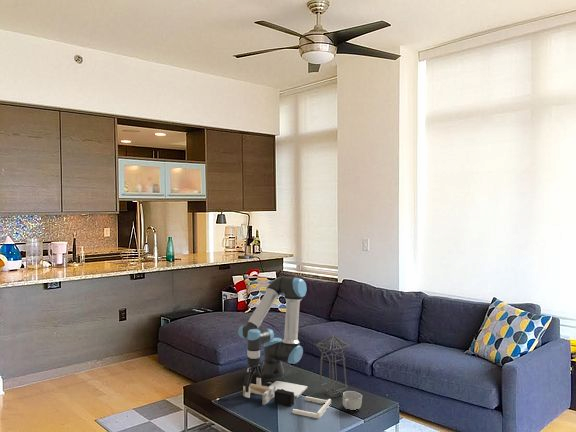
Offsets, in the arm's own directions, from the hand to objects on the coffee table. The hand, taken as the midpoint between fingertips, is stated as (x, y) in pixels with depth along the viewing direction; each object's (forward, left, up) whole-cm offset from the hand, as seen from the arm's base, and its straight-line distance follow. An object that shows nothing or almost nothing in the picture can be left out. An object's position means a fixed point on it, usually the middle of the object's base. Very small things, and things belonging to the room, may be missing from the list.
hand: (253, 392), depth 281 cm
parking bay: (0, +36, -2) cm, 36 cm away
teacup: (-8, +56, -3) cm, 57 cm away
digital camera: (0, +20, -3) cm, 20 cm away
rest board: (-18, +13, -2) cm, 23 cm away
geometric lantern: (-24, +40, -3) cm, 47 cm away
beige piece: (0, +2, -3) cm, 3 cm away
